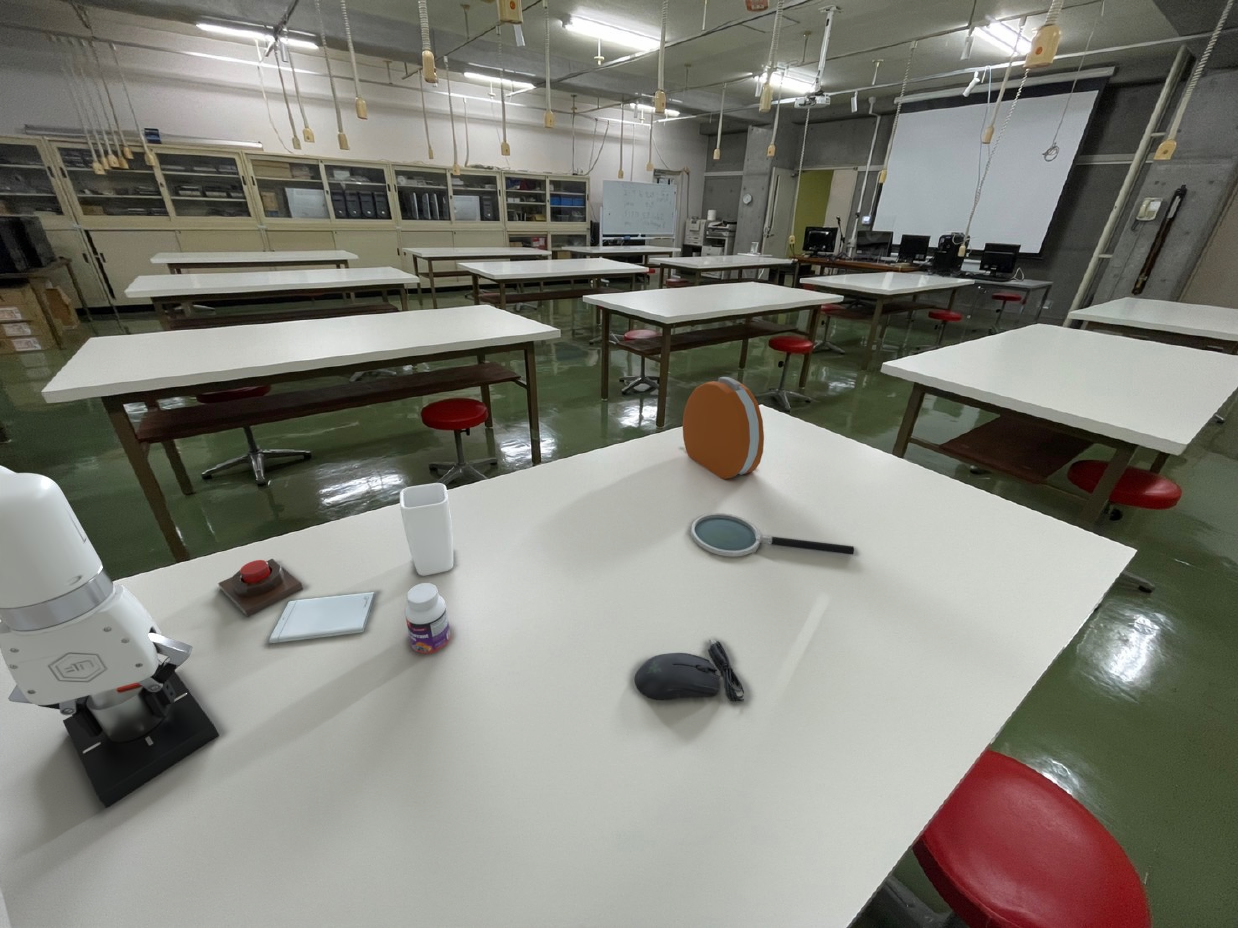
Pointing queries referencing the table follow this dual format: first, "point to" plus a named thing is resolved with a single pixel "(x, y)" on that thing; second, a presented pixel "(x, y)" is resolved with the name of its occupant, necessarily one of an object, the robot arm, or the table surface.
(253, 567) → the button
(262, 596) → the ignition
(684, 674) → the computer mouse
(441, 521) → the cup
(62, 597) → the robot arm
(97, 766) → the rotary dial switch
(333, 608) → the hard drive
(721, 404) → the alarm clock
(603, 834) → the table surface
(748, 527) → the magnifying glass
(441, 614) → the pill bottle
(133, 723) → the knob
